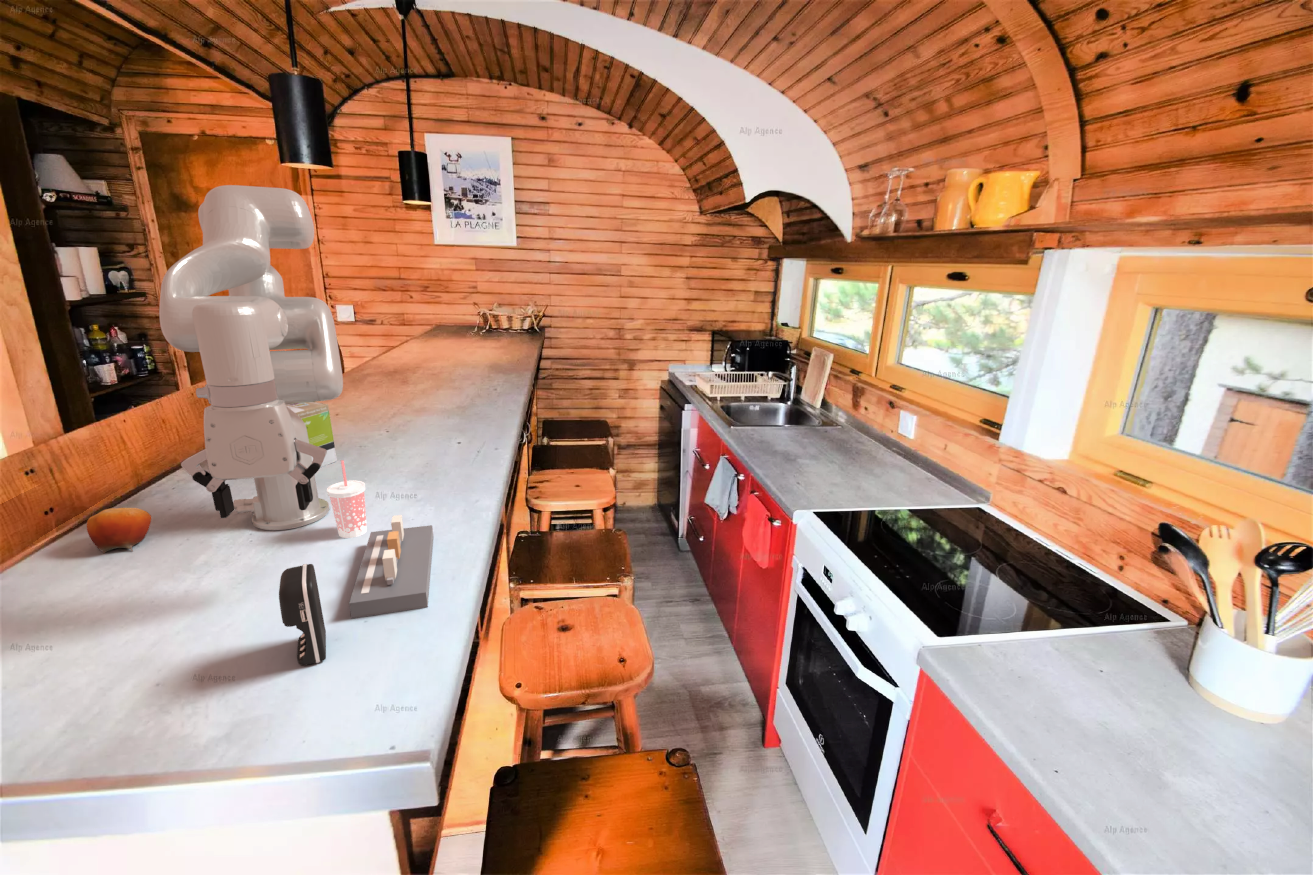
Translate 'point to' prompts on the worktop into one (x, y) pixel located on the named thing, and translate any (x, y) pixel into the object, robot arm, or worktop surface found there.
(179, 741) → the worktop surface
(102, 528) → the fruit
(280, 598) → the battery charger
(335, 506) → the beverage cup
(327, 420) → the tea box
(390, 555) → the switch paddles
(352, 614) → the switch panel
